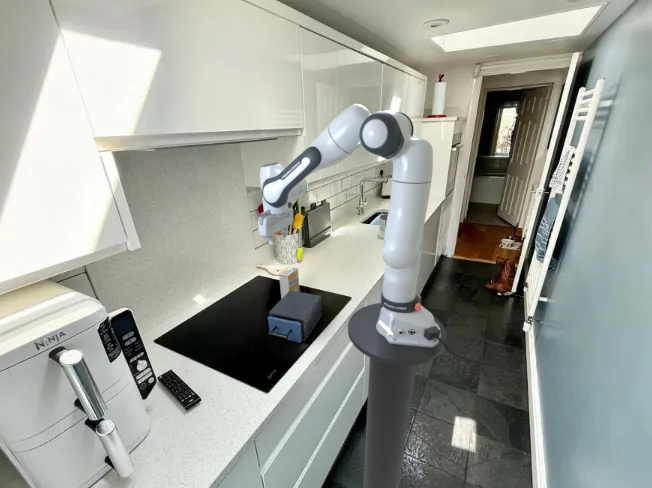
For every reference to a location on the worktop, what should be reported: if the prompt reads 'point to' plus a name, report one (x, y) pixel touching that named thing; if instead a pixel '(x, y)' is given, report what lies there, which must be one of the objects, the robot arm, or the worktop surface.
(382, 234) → the coffee can
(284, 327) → the drawer
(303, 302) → the drawer cabinet housing
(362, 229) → the worktop surface
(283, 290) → the supplement box
